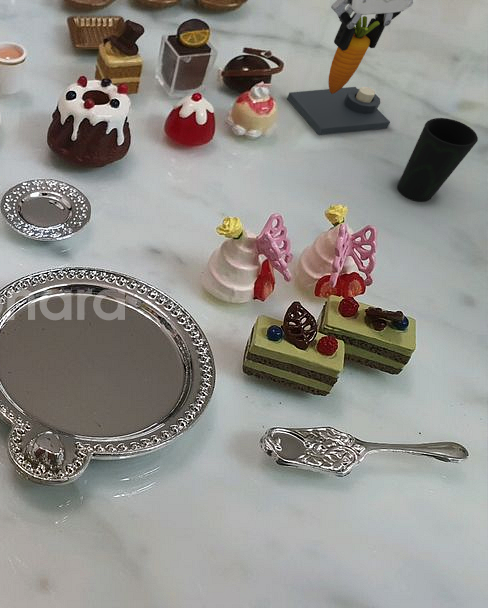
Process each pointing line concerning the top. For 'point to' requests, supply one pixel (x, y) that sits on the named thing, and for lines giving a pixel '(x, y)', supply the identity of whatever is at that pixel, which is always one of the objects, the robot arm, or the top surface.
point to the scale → (338, 111)
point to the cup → (435, 157)
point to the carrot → (350, 56)
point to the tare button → (365, 94)
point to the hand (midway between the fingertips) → (354, 44)
